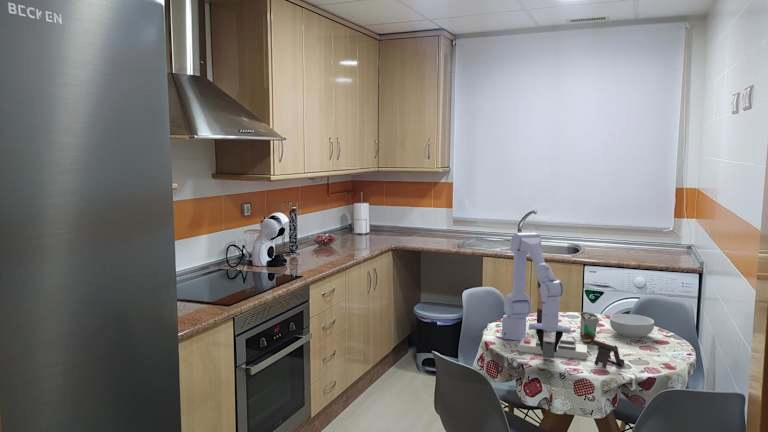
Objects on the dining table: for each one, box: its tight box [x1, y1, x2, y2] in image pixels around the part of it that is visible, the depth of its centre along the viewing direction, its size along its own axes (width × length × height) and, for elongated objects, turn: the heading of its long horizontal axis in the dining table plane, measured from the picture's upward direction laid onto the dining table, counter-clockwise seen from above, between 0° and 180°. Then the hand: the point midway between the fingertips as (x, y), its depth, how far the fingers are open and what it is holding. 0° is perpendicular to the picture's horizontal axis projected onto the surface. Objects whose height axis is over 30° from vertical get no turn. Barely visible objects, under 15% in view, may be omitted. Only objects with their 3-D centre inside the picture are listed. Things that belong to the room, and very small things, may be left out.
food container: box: [579, 311, 600, 345], centre depth 238 cm, size 12×6×10 cm, turn 169°
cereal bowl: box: [609, 313, 655, 339], centre depth 245 cm, size 17×17×7 cm
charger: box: [541, 336, 555, 360], centre depth 215 cm, size 4×5×6 cm
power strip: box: [518, 337, 588, 360], centre depth 224 cm, size 24×9×4 cm, turn 71°
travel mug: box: [536, 280, 543, 323], centre depth 253 cm, size 8×8×20 cm
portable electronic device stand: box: [592, 338, 625, 369], centre depth 211 cm, size 9×8×8 cm
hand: (548, 350), depth 215 cm, fingers closed on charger, 4 cm apart
